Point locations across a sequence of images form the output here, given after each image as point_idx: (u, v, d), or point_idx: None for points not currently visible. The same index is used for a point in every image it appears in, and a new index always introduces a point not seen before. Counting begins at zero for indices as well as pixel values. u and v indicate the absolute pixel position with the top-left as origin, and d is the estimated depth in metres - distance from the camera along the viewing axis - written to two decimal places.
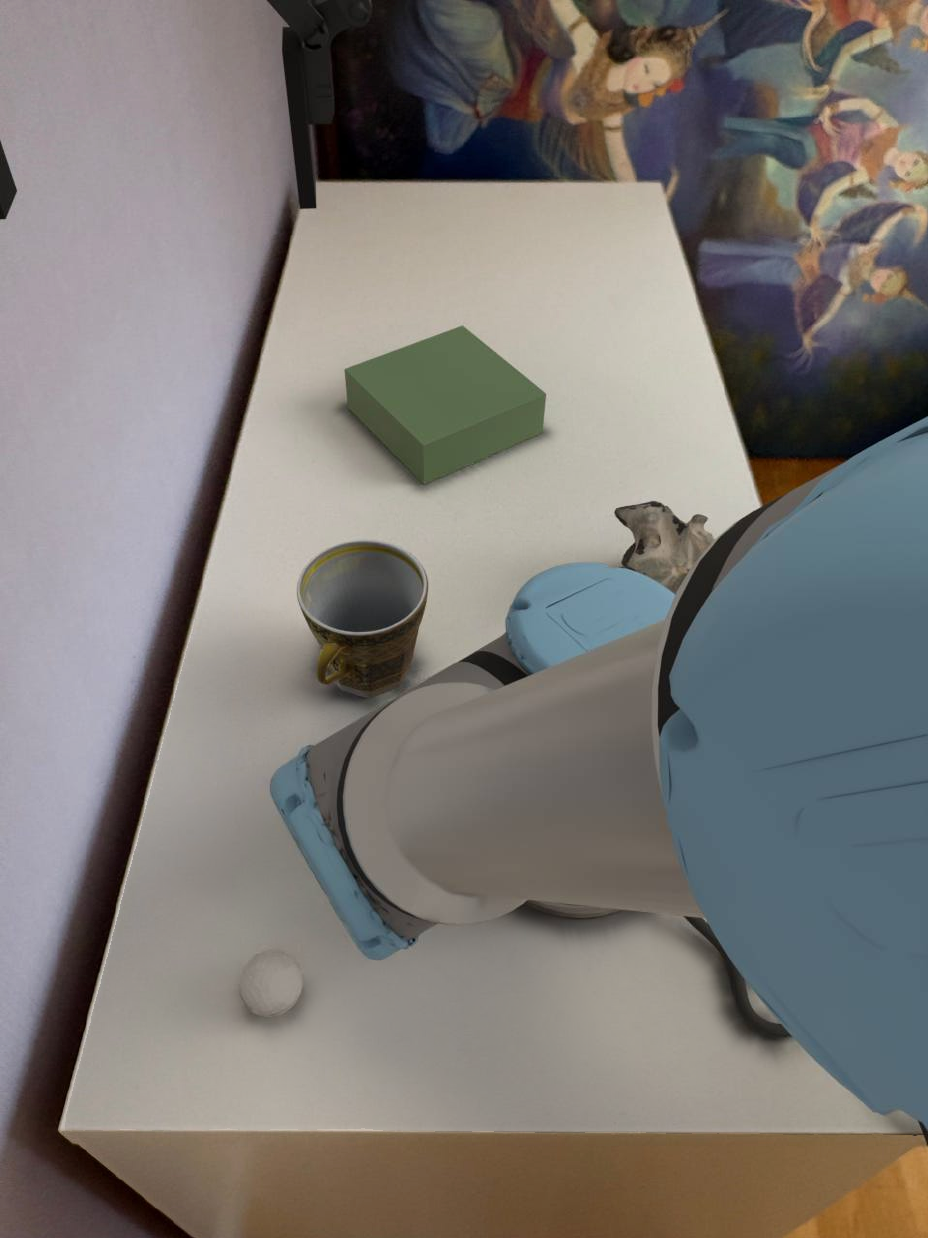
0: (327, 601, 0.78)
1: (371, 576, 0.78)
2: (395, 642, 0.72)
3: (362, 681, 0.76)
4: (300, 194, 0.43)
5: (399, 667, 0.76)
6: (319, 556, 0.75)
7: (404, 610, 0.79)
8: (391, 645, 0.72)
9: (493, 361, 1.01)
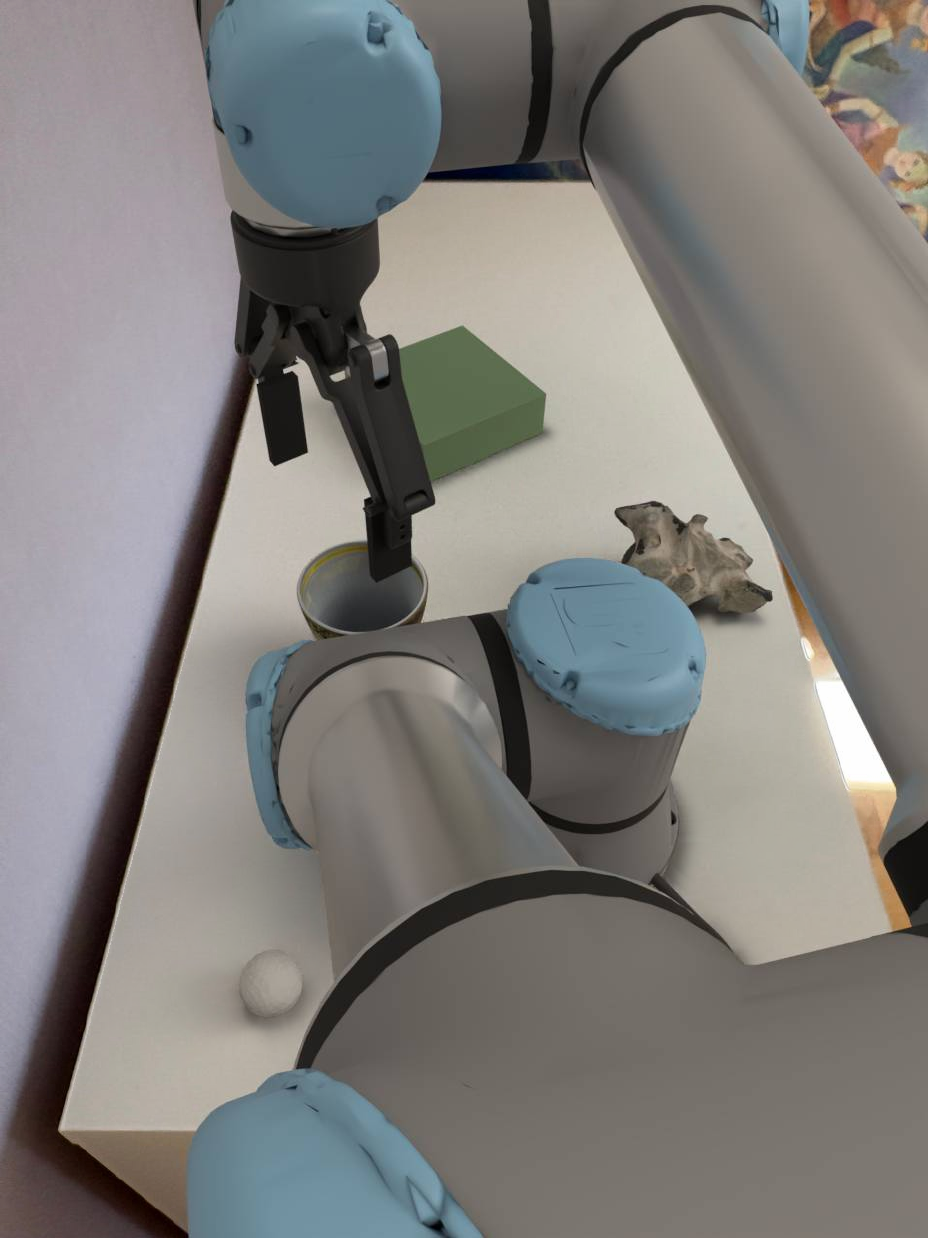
0: (327, 601, 0.78)
1: None
2: None
3: None
4: (370, 569, 0.60)
5: None
6: (319, 556, 0.75)
7: (404, 610, 0.79)
8: None
9: (493, 361, 1.01)
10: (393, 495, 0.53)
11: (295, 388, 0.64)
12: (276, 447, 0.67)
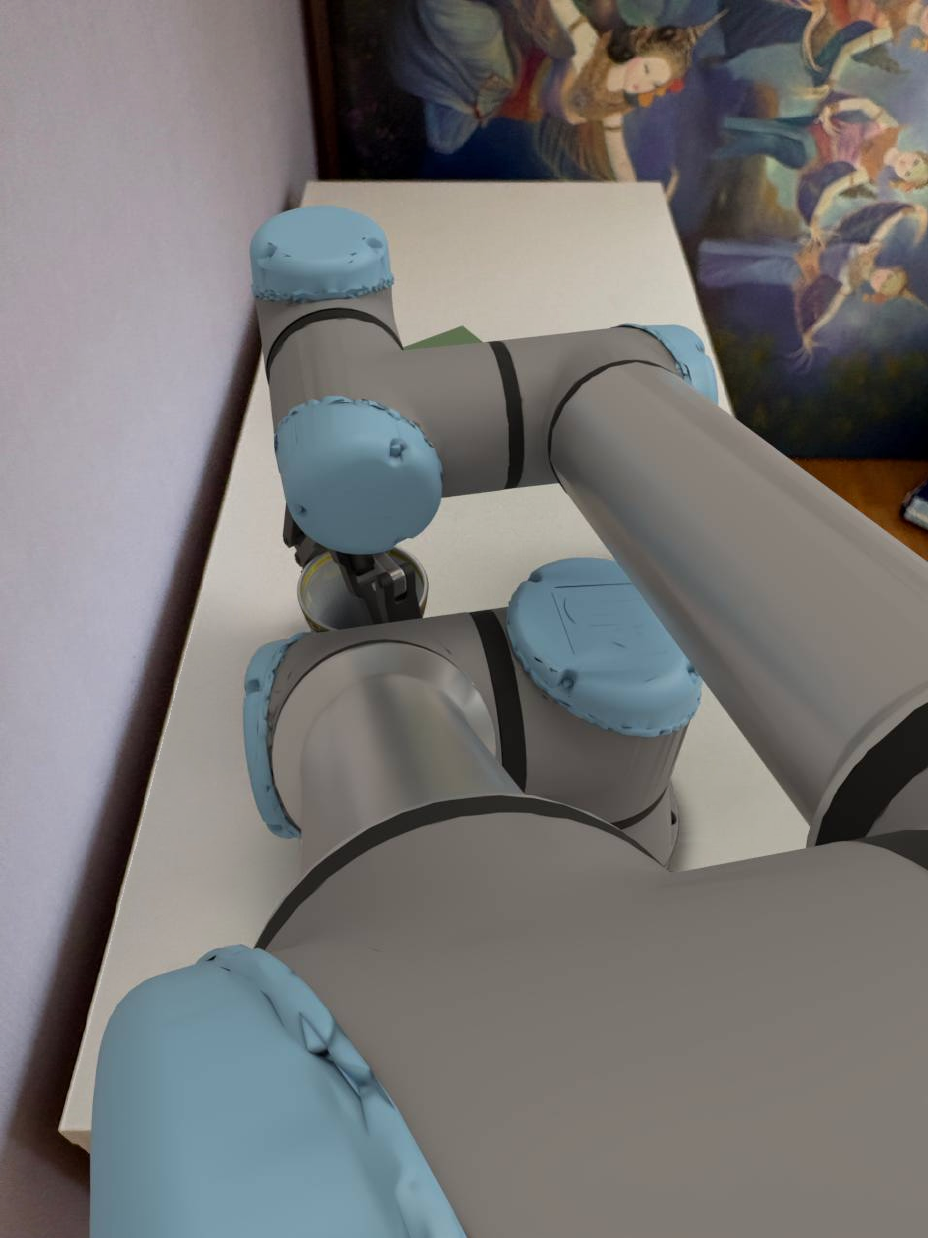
0: (327, 601, 0.78)
1: None
2: None
3: None
4: None
5: None
6: (320, 556, 0.75)
7: None
8: None
9: None
10: None
11: None
12: None
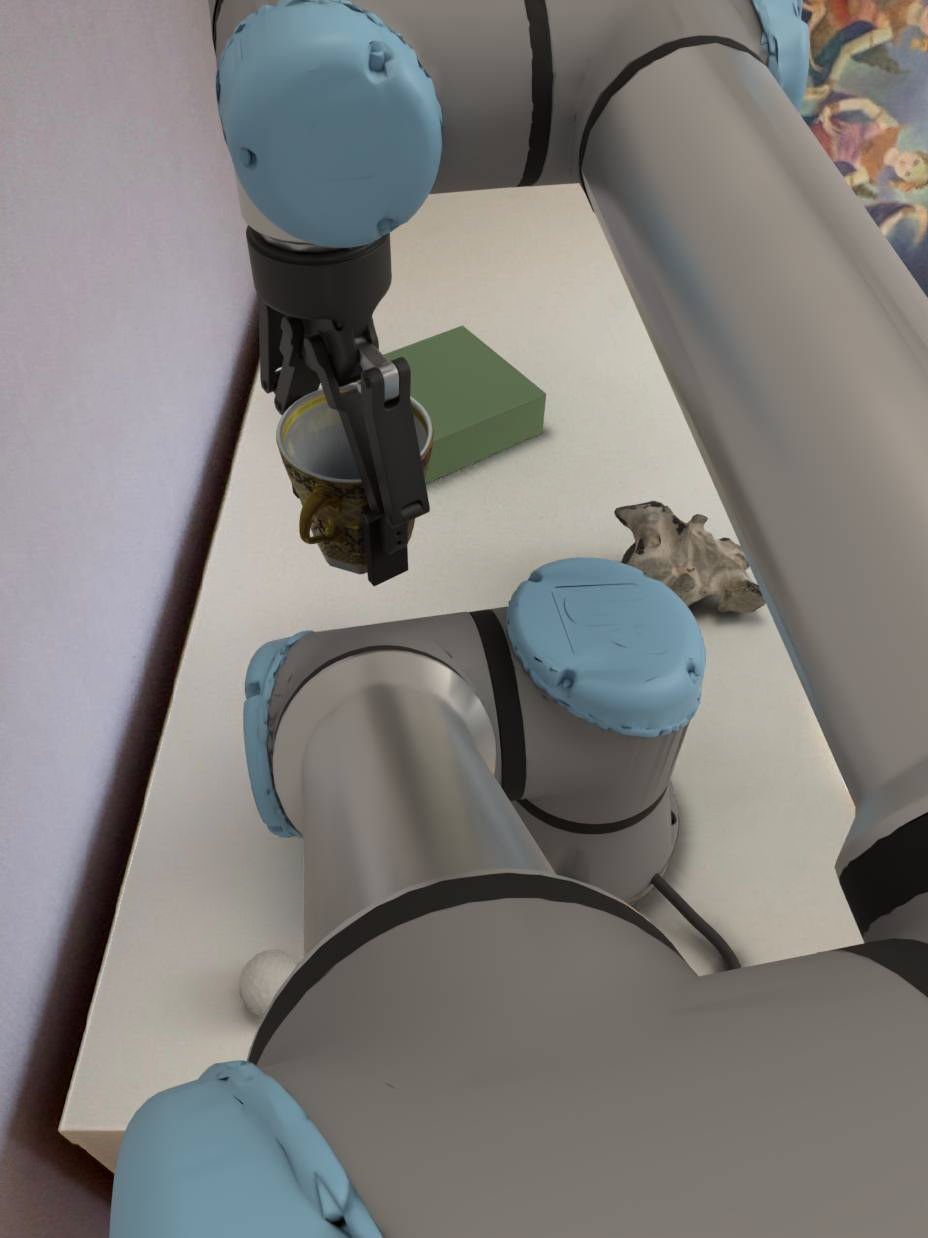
0: (313, 458, 0.66)
1: None
2: None
3: (354, 550, 0.64)
4: (368, 573, 0.63)
5: None
6: (304, 398, 0.63)
7: None
8: None
9: (493, 361, 1.01)
10: (391, 505, 0.55)
11: None
12: None
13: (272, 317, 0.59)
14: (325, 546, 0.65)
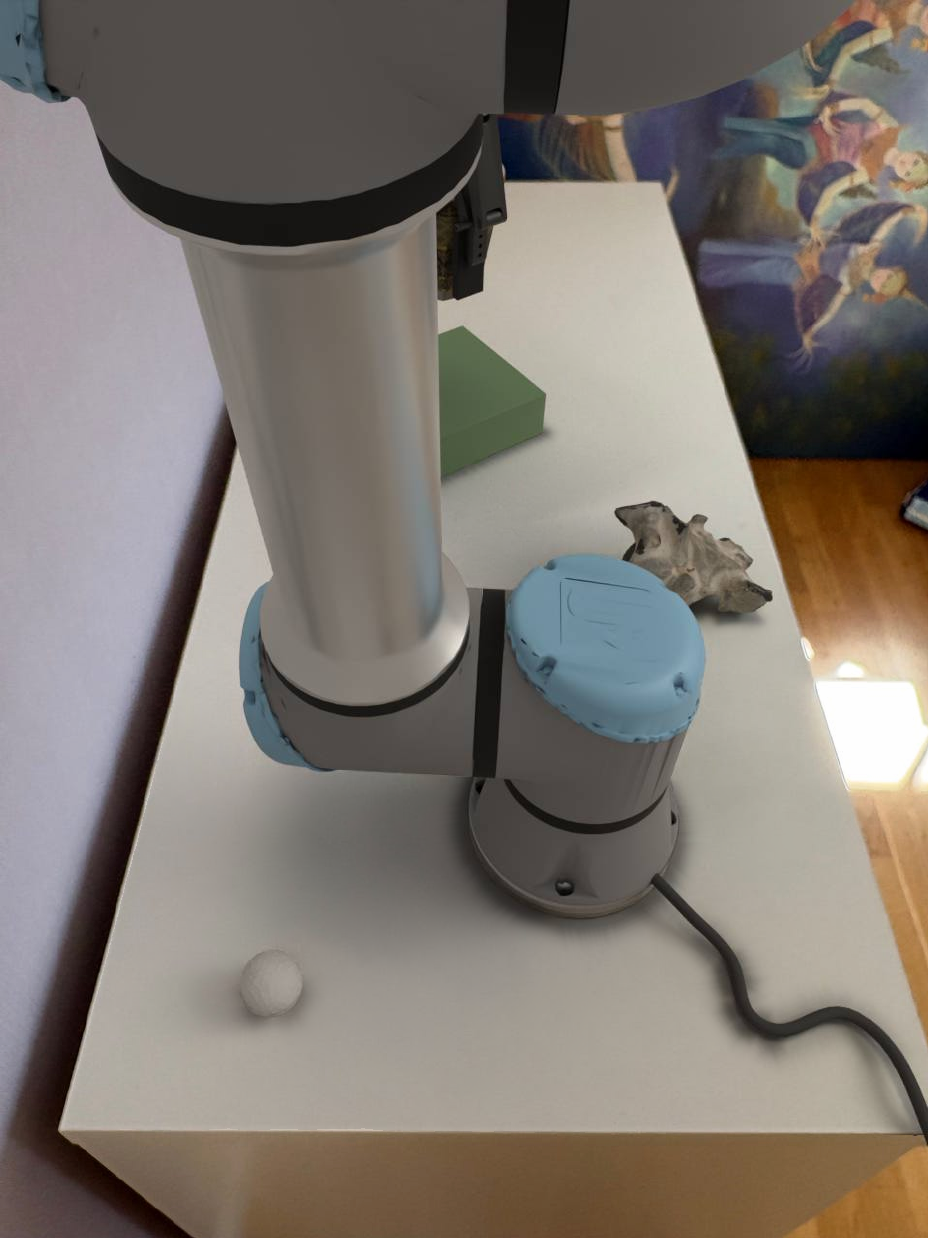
0: None
1: None
2: None
3: (440, 273, 0.81)
4: (452, 289, 0.81)
5: None
6: None
7: None
8: None
9: (493, 361, 1.01)
10: (480, 208, 0.73)
11: None
12: None
13: None
14: None
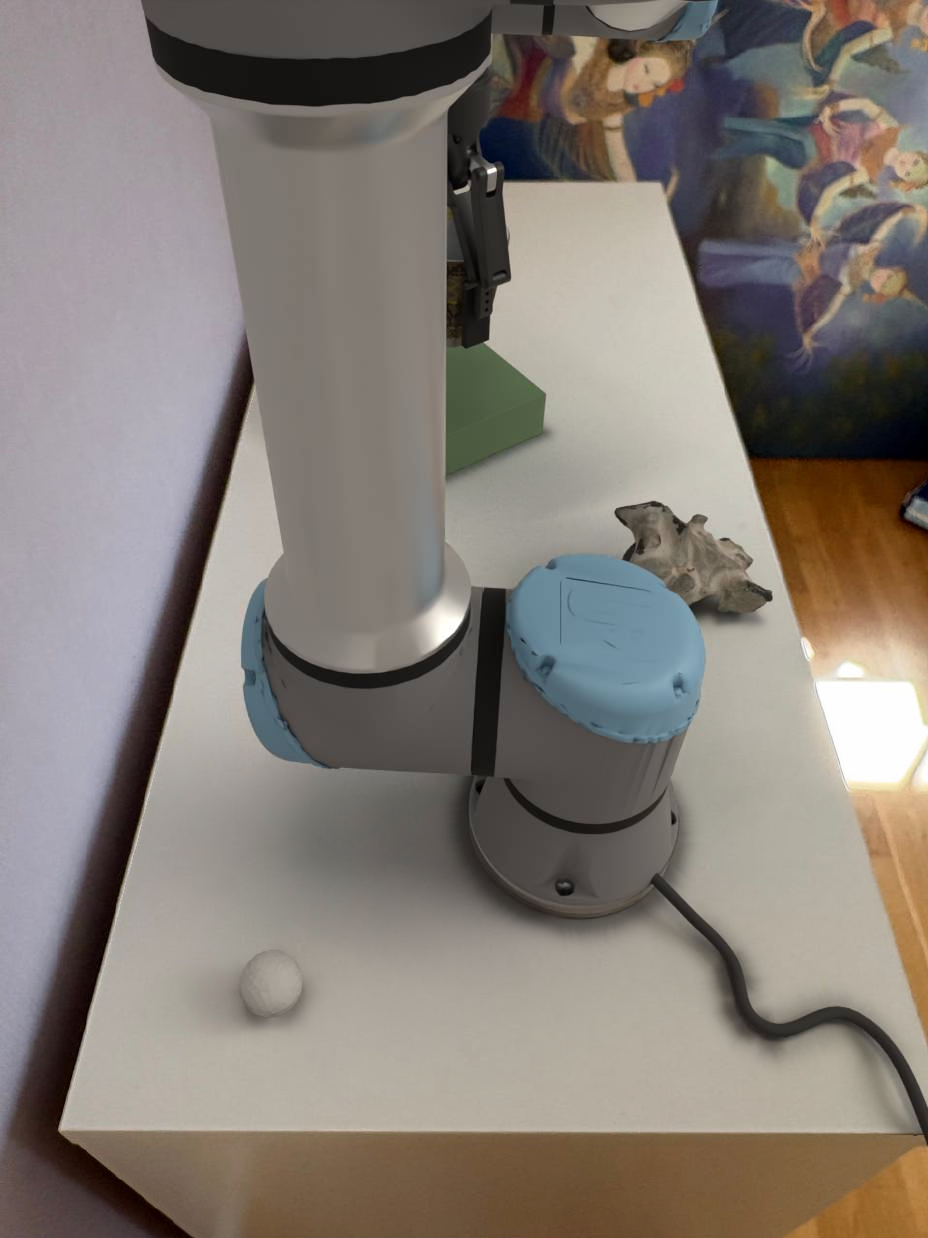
0: None
1: (457, 244, 0.93)
2: None
3: (451, 324, 0.90)
4: (461, 339, 0.90)
5: None
6: None
7: None
8: None
9: (493, 361, 1.01)
10: (487, 271, 0.82)
11: None
12: None
13: None
14: None
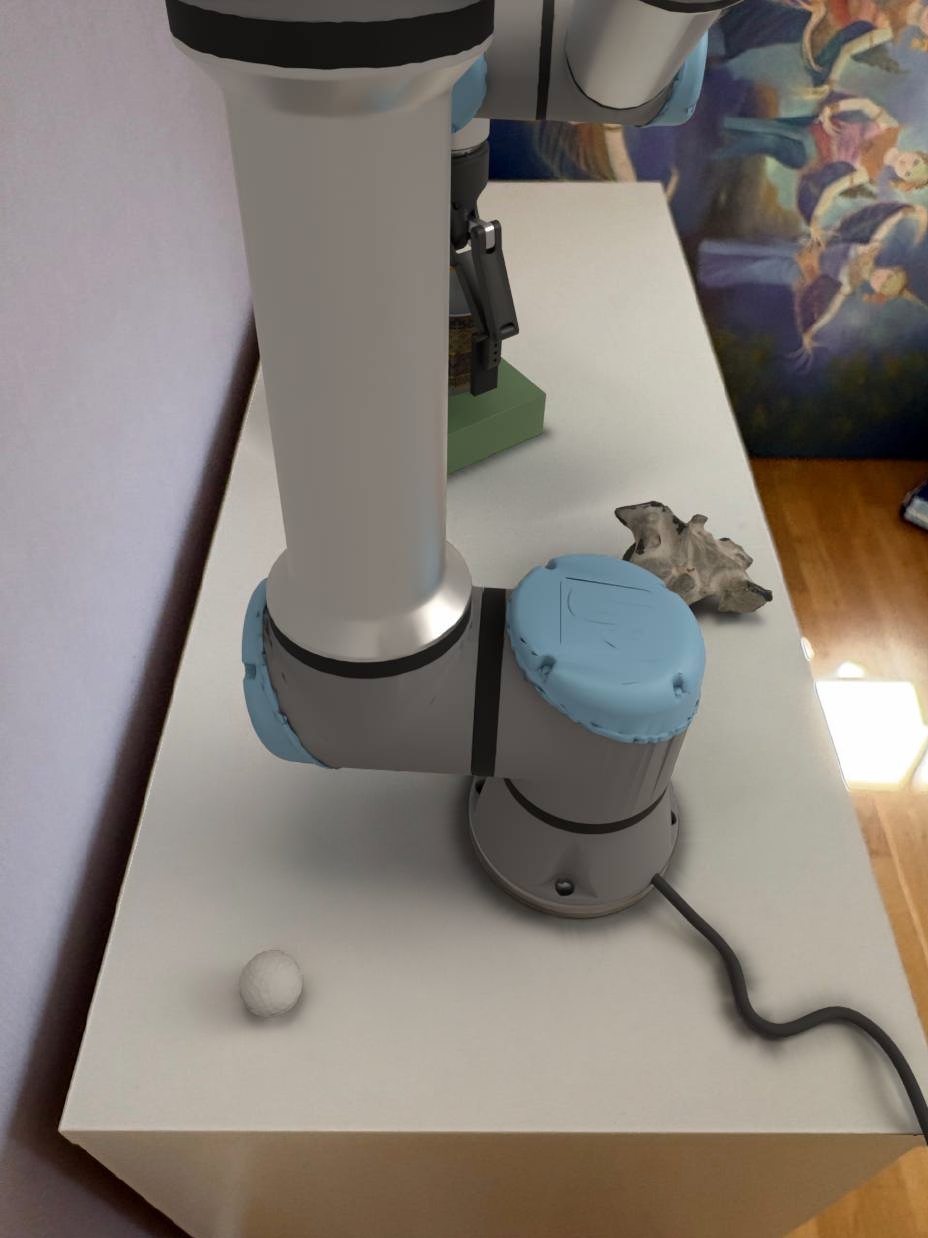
0: None
1: (455, 297, 0.97)
2: None
3: (450, 373, 0.95)
4: (470, 387, 0.92)
5: None
6: None
7: None
8: None
9: None
10: (494, 324, 0.84)
11: None
12: None
13: None
14: None
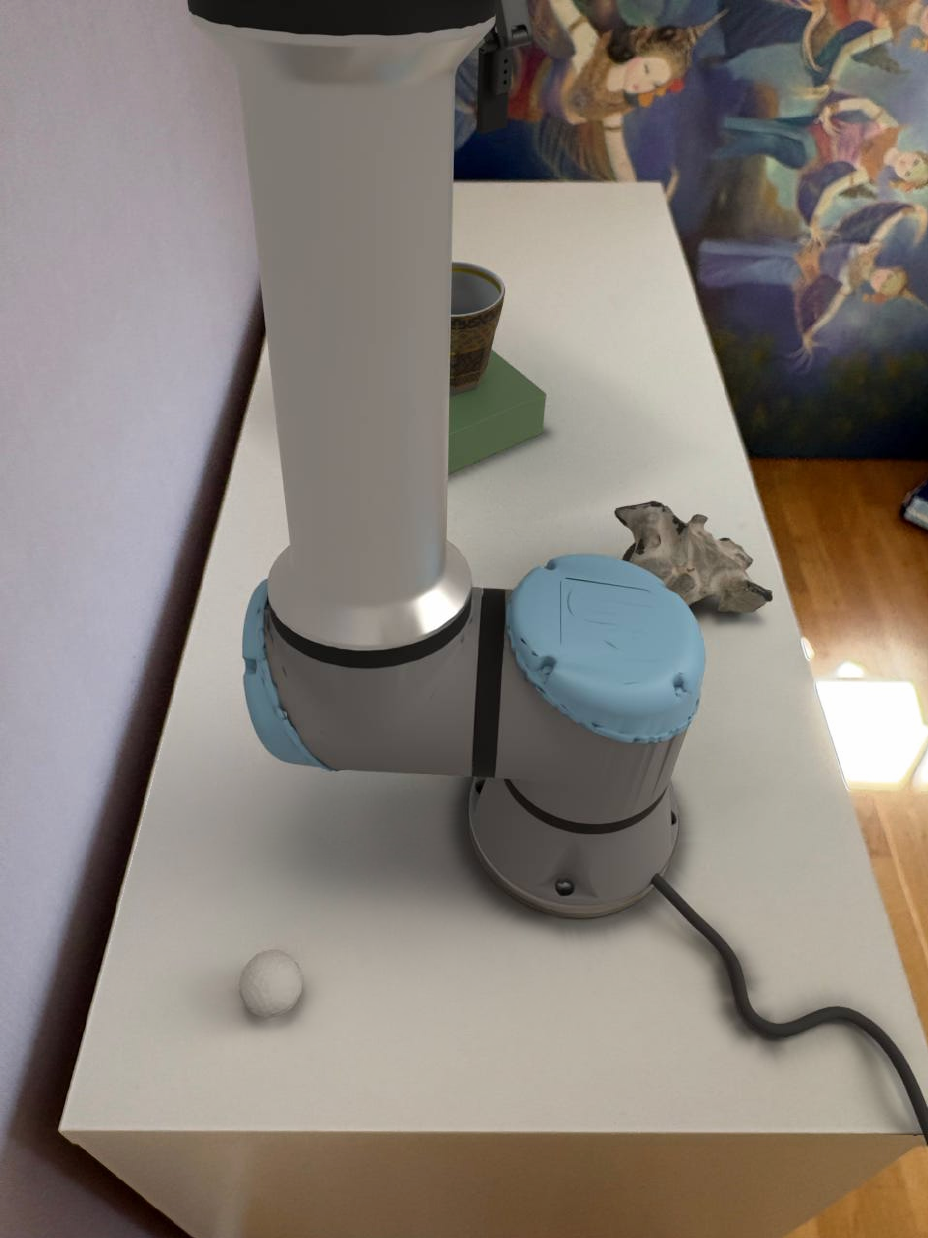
0: None
1: (455, 297, 0.97)
2: (479, 330, 0.91)
3: (450, 373, 0.95)
4: (477, 123, 0.82)
5: (479, 363, 0.95)
6: None
7: None
8: (476, 332, 0.91)
9: (493, 361, 1.01)
10: (504, 23, 0.74)
11: None
12: None
13: None
14: None
